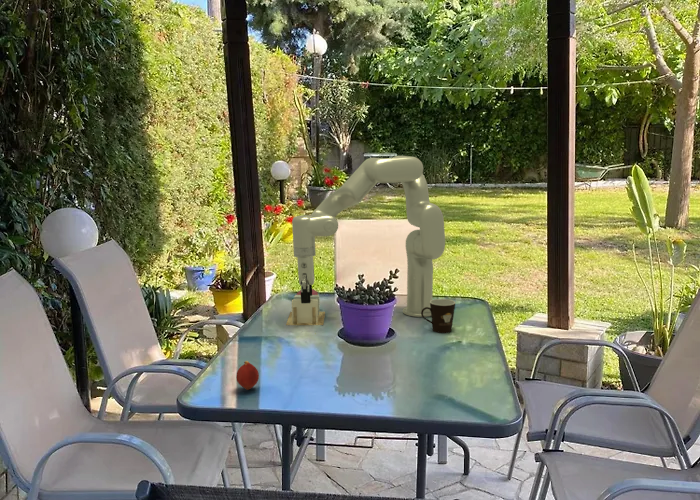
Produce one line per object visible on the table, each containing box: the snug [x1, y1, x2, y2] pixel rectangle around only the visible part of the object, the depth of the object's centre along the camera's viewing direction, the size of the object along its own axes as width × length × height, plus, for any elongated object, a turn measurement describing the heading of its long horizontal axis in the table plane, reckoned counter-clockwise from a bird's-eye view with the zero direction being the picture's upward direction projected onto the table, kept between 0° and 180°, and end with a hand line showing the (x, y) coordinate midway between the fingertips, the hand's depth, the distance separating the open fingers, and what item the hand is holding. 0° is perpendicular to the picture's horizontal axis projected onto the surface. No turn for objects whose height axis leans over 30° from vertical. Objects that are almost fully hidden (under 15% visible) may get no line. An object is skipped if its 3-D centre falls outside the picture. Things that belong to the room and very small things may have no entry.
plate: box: [293, 294, 321, 315], centre depth 235 cm, size 9×3×7 cm, turn 90°
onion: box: [236, 360, 260, 391], centre depth 169 cm, size 6×6×8 cm
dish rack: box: [285, 307, 326, 326], centre depth 230 cm, size 13×17×8 cm
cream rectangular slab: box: [291, 298, 318, 323], centre depth 225 cm, size 9×3×8 cm, turn 91°
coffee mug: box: [421, 298, 456, 334], centre depth 220 cm, size 12×9×10 cm
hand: (306, 299), depth 224 cm, fingers open, 9 cm apart
